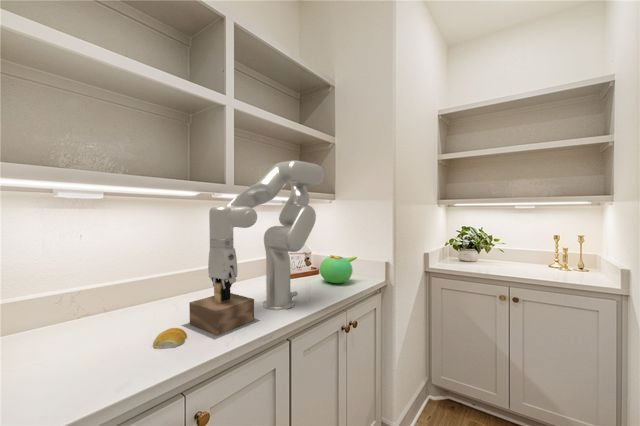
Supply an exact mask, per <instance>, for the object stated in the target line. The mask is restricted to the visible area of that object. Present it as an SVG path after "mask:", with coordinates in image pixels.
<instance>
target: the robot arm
mask: <svg viewBox="0 0 640 426" xmlns="http://www.w3.org/2000/svg"><path fill="white" fill-rule="evenodd" d="M324 177H325V173H324V169H323V168H322V167H321V166H320V165H318V164H317V163H312V162H307V161H302V160H286V161H280V162H278V163H275V164H274V165H273V166H272V167H271V168H270V169H269V170H268V171H267V172H266V173H265V174H264V175H263V176H262V177H261V178H260V179H259V180H258V181H257V182H256V183H255V184H253V185H252V186H250V187H249V188H247V189H246V190H244V191H242V192H241V193H239V194H238V195H237V196H235V197H234V198H232V199H231V201H230V202H229V203H227V205H226V206H212V207H211V208H210V209H209V217H208V218H209V219H208V220H209V252H208V262H207V263H208V264H207V265H208V267H207V269H208V271H207V272H208V277H209V279H210V281H212V287H213V288H214V283H218V282H222V288H223V289H221V301H226V300H229V299H230V293H231V288H232V285H233V284H234V283H236V282H237V279H236V278H237V277H238V259H237V253H236V248H235V247H234V228H240V229H246V228H250V227H252V226H254V225H255V224H256V223H257V220H258V214H257V211H256V210H255V209H254V208H255V207H258V206H261V205H263V204H265V203H266V204H267V203H268V202H270V201H272V200H273V199H274V198H275V197H276V196H277V195H278V194H279V193H280V192H281V190H282V189H283V188H284V187H286V185H287V184H289V185H290V191H291V192H290V195H289V197H288V199H287V201H286V203H285V205H283V208H282V209H281V211H280V213H279V217H278V220H279V223H280V225H274V226H270V227H269V228H267V229H266V231H264V235H263V244H264V245H263V246H264V251H265V257H266V258H265V259H266V260H265V262H266V263H265V264H266V267H265V268H266V273H265V274H266V276H265V278H266V280H265V281H266V283H265V284H266V285H265V287H266V292H265V293H266V299H265V300H264V301H263V302H262V303H261V304H262V307H263V308H264V309H267V310H270V311H271V310H274V311H280V310H289V309H291V308H293V307H294V306H295V301H294V300H293V298H294V297H296V296H298V294H299V293H298V292H297V291H295V290H294V291H291V258H290V254H289V253H290V252H291V253H297V252H298V251H300V250H301V249H303V247H304V246H305V244H306V242H307V240H308V238H309V236H310V235H311V232H312V230H313V229H314V226H315V223H316V219H317V214H316V211H315V209H314V208H313V207H312V206H311V205H309V203H310V194H309V191H308V189H307V187H308V186H317V185H320V184H322V182H323V180H324ZM226 281H227V282H226Z"/></svg>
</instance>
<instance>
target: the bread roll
mask: <svg viewBox="0 0 640 426" xmlns="http://www.w3.org/2000/svg"><path fill="white" fill-rule="evenodd" d="M187 338H188V335H187V332H186V331H185V330H184V329H182V328H179V327H171V328H168V329H166V330H164V331H162V332H161V333H159V334H157V336H156V337H155V339H154V340H153V342H152V347H153V348H154V349H156V350H163V349H164V350H165V349H166V350H167V349H168V350H169V349H174V348H176V347H177V348H178V347H179V346H182V345H183V344H184V343H185V340H187Z"/></svg>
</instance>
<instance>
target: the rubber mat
mask: <svg viewBox="0 0 640 426" xmlns="http://www.w3.org/2000/svg"><path fill="white" fill-rule="evenodd" d="M261 321H262V320H261V319H258V318H255V317H254V321H251V322H249V323H247V324H244V325H242V326H239V327H237V328H234V329H232V330H229V331H227V332H225V333H222V334H220V335H217V336H216V335H214V334H212V333H209V332H207V331H204V330H202V329H199V328H197V327H194V326H192V325H190V322H187V323H184V324H181V327H184V328H186V329H188V330H191V331H194V332H196V333H198V334H200V335H202V336H205V337H207V338H210V339H211V340H217V339H219V338H222V337H224V336H228V335H229V334H231V333H234V332H237V331H238V330H241V329H243V328H247V327H250V326H251V325H254V324H256V323H259V322H261Z"/></svg>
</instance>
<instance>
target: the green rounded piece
mask: <svg viewBox="0 0 640 426" xmlns="http://www.w3.org/2000/svg"><path fill="white" fill-rule="evenodd" d="M329 255H330V256H328V257H326V258H324V259H323V260H322V261H321V263H320V264H319V273H320V275H321V277H322V278H323V279H324V280H325V281H326V282H328V283H332V284H343V283H346V282H347V281H348V280H349V279H351V277H352V275H353V266H352V264H351V262H353V261H355V260H356V259H358V256H351V257H343V256H338V255H333V254H329Z"/></svg>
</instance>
